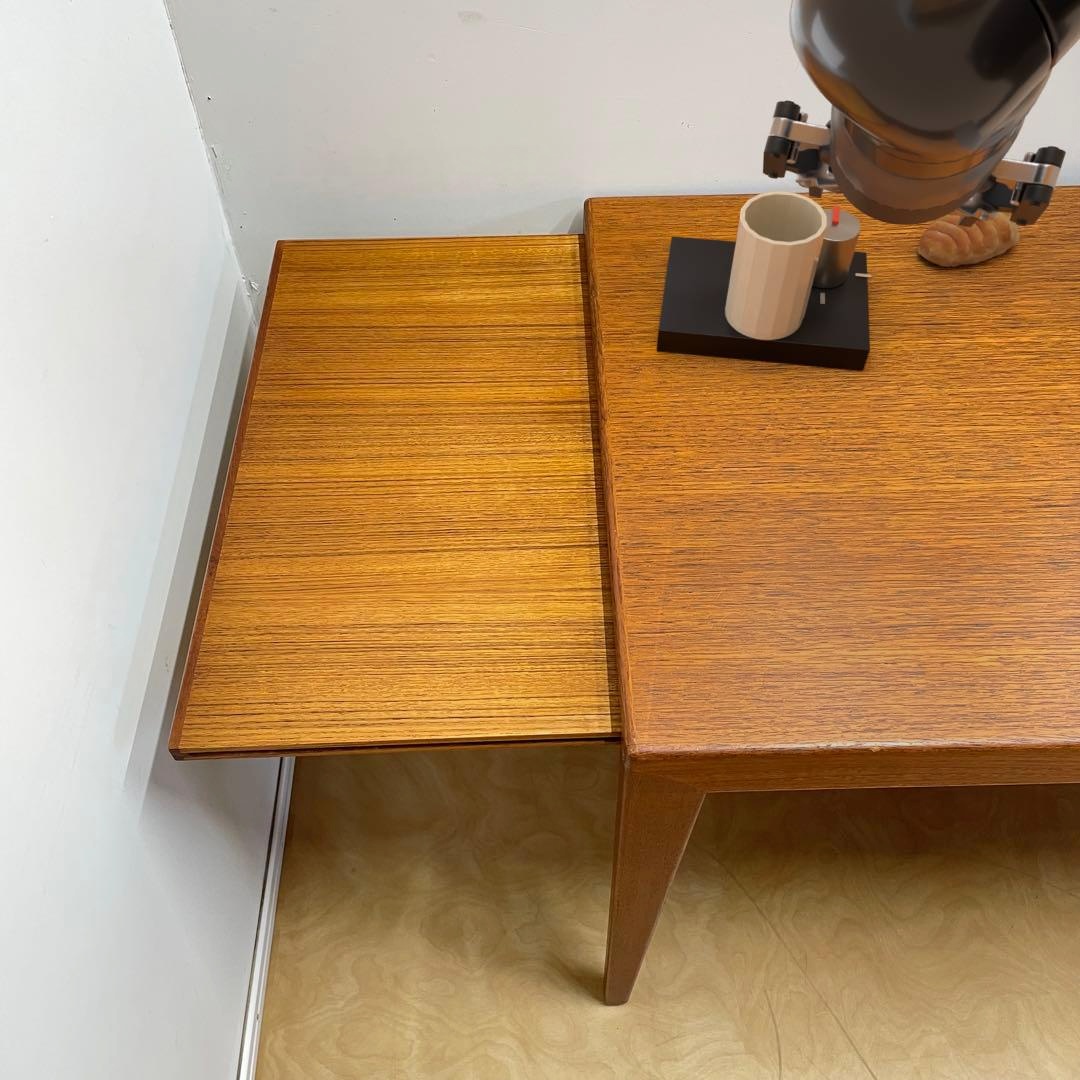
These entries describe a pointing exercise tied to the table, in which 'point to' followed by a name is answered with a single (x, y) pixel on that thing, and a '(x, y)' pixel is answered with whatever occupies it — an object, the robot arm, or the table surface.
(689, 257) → the hob
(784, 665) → the table surface
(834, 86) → the robot arm
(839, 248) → the knob
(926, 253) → the pastry
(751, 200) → the cup
